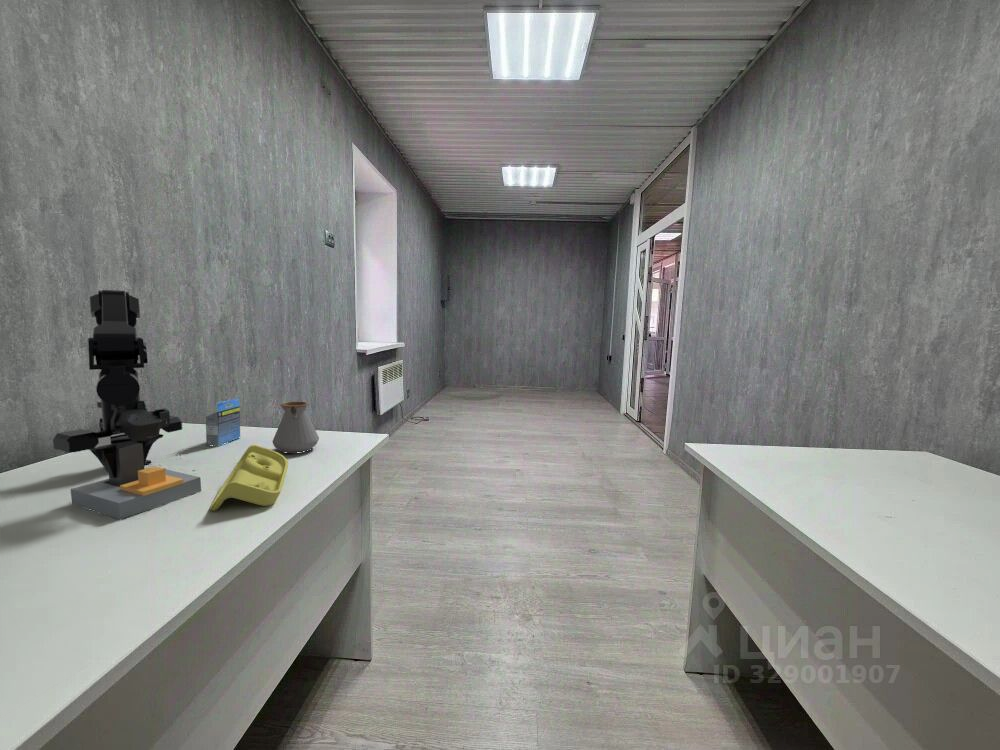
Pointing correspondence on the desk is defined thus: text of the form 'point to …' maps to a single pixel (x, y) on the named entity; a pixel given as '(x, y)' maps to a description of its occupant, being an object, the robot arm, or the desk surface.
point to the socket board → (131, 496)
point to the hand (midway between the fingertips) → (126, 473)
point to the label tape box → (223, 423)
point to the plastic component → (255, 478)
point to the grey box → (127, 462)
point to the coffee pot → (295, 429)
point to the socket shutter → (151, 481)
